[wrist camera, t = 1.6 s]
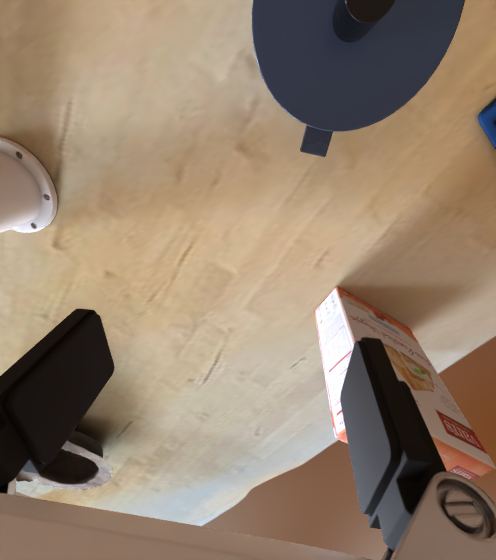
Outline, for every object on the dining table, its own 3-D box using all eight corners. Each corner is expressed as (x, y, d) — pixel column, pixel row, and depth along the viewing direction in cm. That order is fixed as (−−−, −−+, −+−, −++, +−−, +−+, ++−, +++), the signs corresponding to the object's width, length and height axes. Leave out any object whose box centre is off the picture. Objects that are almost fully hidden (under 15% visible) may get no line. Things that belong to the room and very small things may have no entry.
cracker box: (411, 325, 44) (502, 471, 25) (383, 349, 46) (447, 496, 28) (337, 282, 41) (379, 408, 23) (312, 310, 44) (332, 442, 26)
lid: (238, 111, 25) (226, 109, 20) (278, -157, 18) (275, -277, 12) (401, 147, 25) (432, 154, 20) (507, -108, 18) (604, -206, 12)
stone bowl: (4, 400, 65) (-32, 440, 57) (111, 403, 64) (90, 443, 56) (42, 462, 77) (17, 502, 69) (133, 465, 76) (118, 505, 68)
